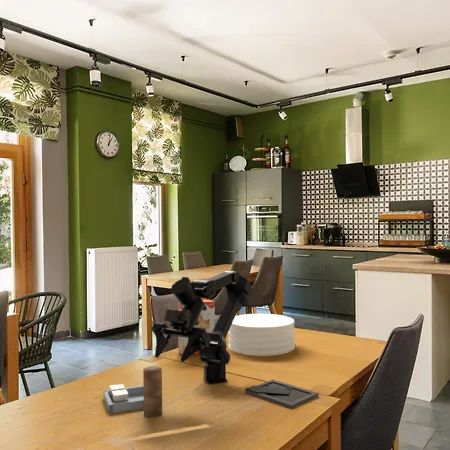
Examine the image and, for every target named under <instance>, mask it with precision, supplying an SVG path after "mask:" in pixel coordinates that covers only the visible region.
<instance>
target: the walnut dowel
mask: <svg viewBox="0 0 450 450" xmlns="http://www.w3.org/2000/svg"><path fill="white" fill-rule="evenodd" d="M142 373H143V375H142V376H143V377H142V378H143V385H142V386H143V387H144V408H143V416H144V417H146V418H158V417H160V416H162V415H163V367H161V366H159V365H151V366H146V367H144V368H143V370H142Z"/></svg>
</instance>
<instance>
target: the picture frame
mask: <svg viewBox="0 0 450 450" xmlns="http://www.w3.org/2000/svg"><path fill="white" fill-rule="evenodd" d="M244 393H245V394H246V395H249V396H251V397H256V398H258V399H260V400H261V399H262V400H265V401H267V402H270V403H273V404H276V405H279V406H282V407H285V408H287V409H291V410H292V409H295V408H297V407H299V406H302V405H304V404H305V403H309V401H312V400H315V399H316V397H317V398H319V397H318V396H319V394H320V393H319V392H317V391H312V390H309V389H306V388H303V387H299V386H296V385H292V384H289V383H286V382H282V381H279V380H275V379H270V380H268V381H265V382H262V383H259V384H257V385H252V386H249V387H244Z"/></svg>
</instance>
